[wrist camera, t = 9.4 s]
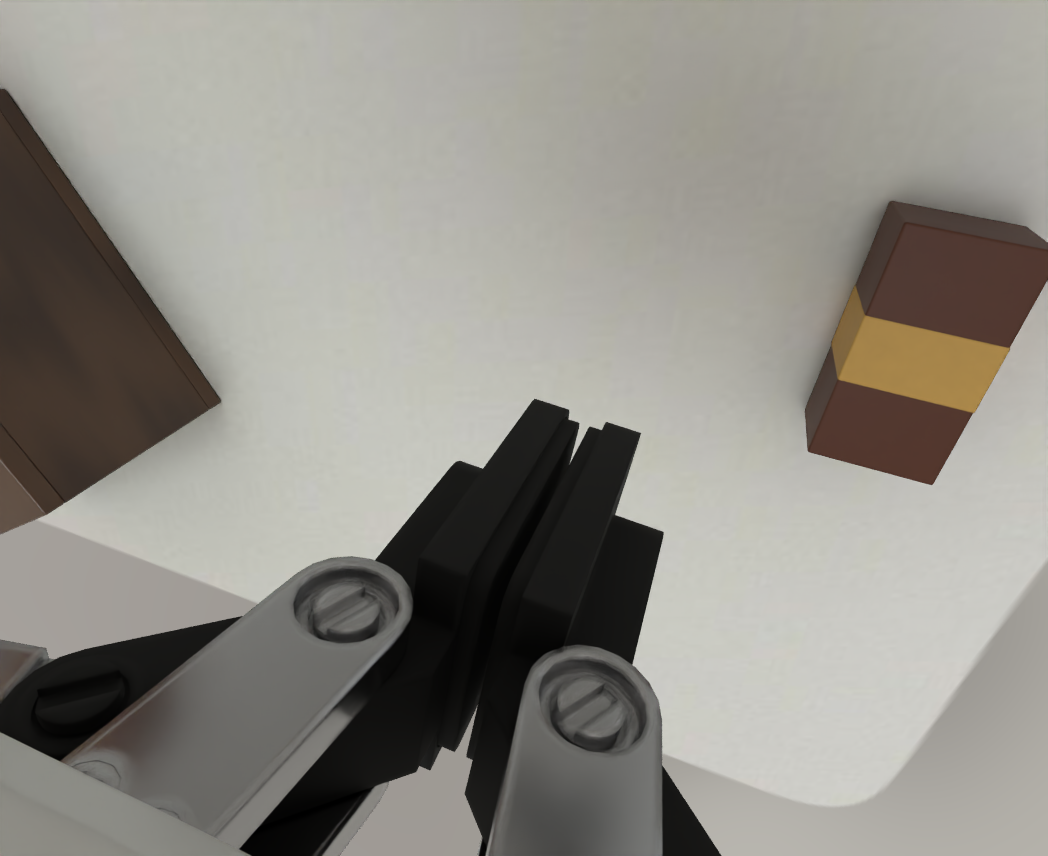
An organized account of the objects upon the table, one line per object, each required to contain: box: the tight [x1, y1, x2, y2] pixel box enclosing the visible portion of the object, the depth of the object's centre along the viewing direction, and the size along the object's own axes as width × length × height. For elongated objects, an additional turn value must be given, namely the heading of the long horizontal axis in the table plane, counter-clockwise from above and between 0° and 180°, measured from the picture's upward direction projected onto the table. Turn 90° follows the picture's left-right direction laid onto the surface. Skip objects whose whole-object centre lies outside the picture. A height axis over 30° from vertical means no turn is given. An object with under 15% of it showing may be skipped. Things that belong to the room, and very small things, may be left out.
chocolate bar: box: [805, 201, 1048, 485], centre depth 20 cm, size 4×7×3 cm, turn 172°
